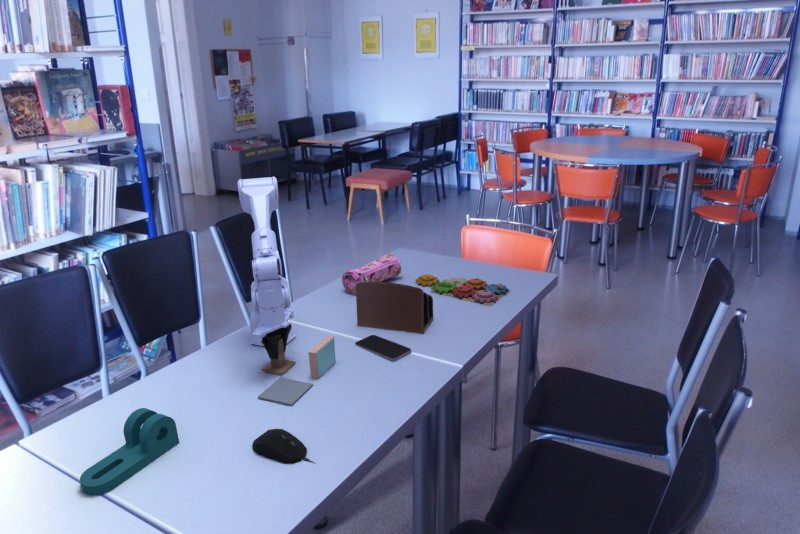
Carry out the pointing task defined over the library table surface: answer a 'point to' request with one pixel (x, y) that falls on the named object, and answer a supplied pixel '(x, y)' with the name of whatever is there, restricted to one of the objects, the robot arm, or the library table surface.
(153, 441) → the bracket
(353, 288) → the pencil case
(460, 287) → the gear puzzle
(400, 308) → the letter holder
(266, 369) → the stamp
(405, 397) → the library table surface
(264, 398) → the mat
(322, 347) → the tile
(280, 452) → the gaming mouse
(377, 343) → the smartphone
